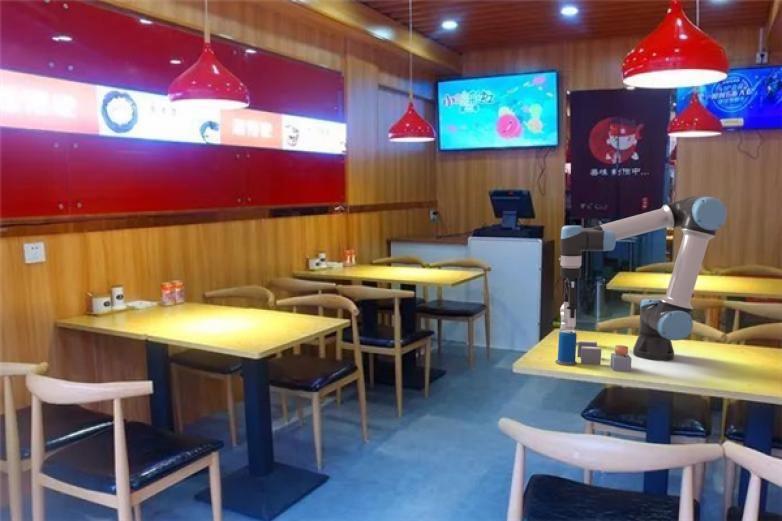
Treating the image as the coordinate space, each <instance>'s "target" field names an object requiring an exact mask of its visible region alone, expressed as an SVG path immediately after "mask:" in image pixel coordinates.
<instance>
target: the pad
mask: <svg viewBox="0 0 782 521" xmlns="http://www.w3.org/2000/svg"><path fill="white" fill-rule="evenodd" d="M554 362H555V364H557V365H560V366H566V367H573V366H577V365H578V362H577V361H576V360H575V362H573V363H571V364H565V363H561V362H560V361H559V360H558V359H556V360H555V361H554Z"/></svg>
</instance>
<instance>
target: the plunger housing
mask: <svg viewBox="0 0 782 521" xmlns="http://www.w3.org/2000/svg"><path fill="white" fill-rule="evenodd" d="M610 368H611V370H613V371H614V372H629V373H630V372H632V357H631V356H630V355H629V353H628V354H626V355H624V357H618V354H617V353H615V352H611V353H610Z"/></svg>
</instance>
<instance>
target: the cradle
mask: <svg viewBox="0 0 782 521" xmlns="http://www.w3.org/2000/svg"><path fill="white" fill-rule="evenodd" d="M576 353H577V354H576V357H577V358H579V357H580V364H581V365H587V366H588V365H589V366H590V365H591V366H601V364H602V347H600V346H599V347H598V342H597V340H596V341H595V340H580V339H579V340H577V349H576Z"/></svg>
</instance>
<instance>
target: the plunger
mask: <svg viewBox="0 0 782 521" xmlns="http://www.w3.org/2000/svg"><path fill="white" fill-rule="evenodd" d="M614 346H615V347H614V348H615V349H614V353H617V354H618V357H624V355H626V354H628V355H629V346H627V345H622V344H621V345H620V344H617V345H614Z"/></svg>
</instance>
